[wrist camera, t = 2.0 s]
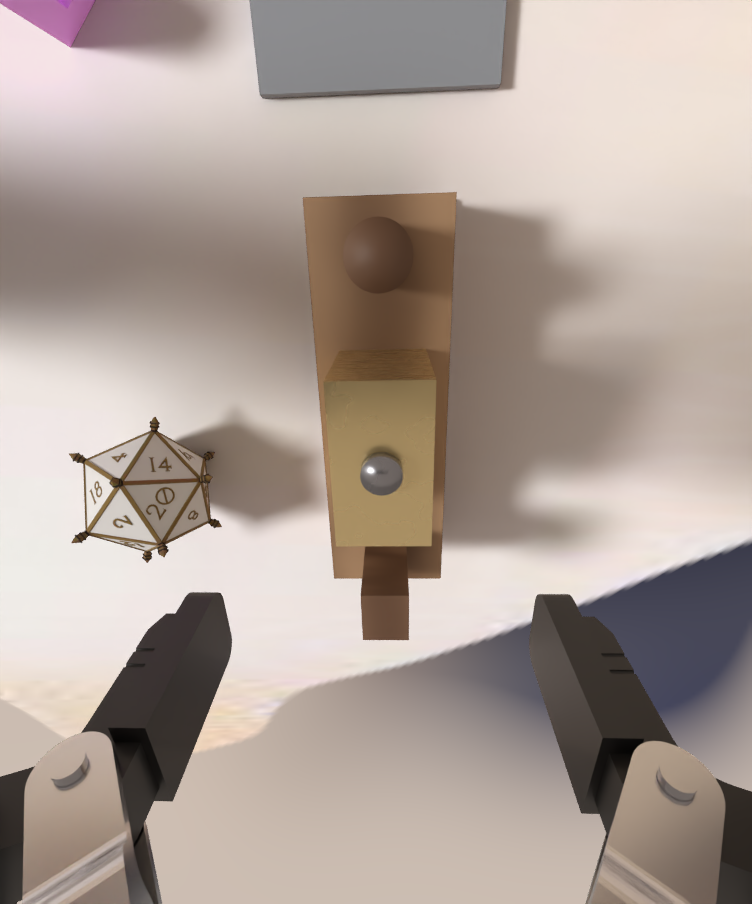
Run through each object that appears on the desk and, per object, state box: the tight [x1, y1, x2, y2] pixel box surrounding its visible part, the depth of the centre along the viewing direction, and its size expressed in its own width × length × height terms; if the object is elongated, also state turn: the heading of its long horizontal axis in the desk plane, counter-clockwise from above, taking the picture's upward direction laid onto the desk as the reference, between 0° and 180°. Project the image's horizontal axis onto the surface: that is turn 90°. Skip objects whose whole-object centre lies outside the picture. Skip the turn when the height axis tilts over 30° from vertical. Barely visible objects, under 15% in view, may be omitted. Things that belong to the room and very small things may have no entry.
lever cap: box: [323, 349, 436, 546], centre depth 22 cm, size 4×8×7 cm, turn 1°
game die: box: [69, 417, 222, 563], centre depth 28 cm, size 9×8×10 cm
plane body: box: [303, 192, 457, 640], centre depth 24 cm, size 7×22×11 cm, turn 2°
